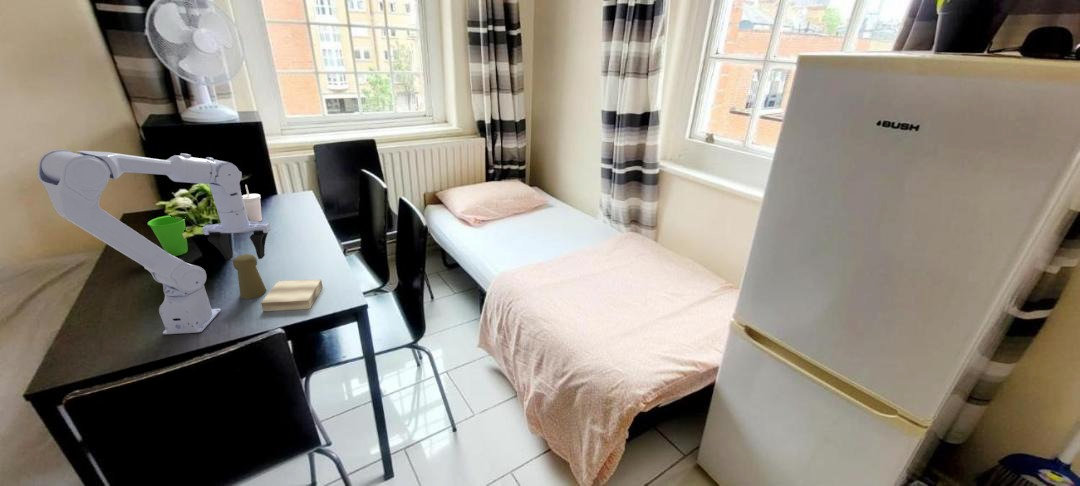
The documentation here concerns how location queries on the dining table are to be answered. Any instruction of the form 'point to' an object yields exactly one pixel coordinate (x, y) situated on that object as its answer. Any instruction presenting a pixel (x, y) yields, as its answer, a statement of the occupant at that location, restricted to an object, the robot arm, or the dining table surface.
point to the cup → (170, 234)
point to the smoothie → (252, 206)
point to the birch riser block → (292, 295)
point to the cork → (249, 277)
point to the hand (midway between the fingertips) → (245, 257)
